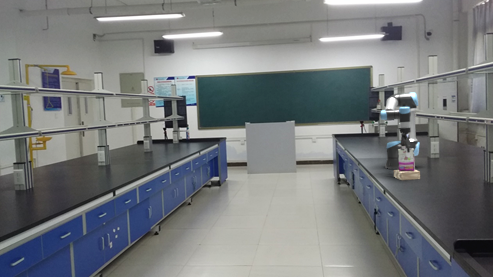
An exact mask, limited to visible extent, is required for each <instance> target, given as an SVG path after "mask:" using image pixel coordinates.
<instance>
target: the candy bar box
mask: <svg viewBox="0 0 494 278" xmlns="http://www.w3.org/2000/svg"><path fill="white" fill-rule="evenodd" d="M398 160H399V169H398V170H399V171H415V170H416V167H415V166H416V165H415V163H416V162H415V156H414V149H410V157H406V149H398Z"/></svg>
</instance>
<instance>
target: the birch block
mask: <svg viewBox="0 0 494 278" xmlns="http://www.w3.org/2000/svg"><path fill="white" fill-rule="evenodd" d="M394 177H395V179H398V180H400V181H410V180H412V181H413V180H421V171H419V170H417V169H415V171H399V169H393V178H394Z"/></svg>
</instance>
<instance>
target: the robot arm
mask: <svg viewBox="0 0 494 278" xmlns="http://www.w3.org/2000/svg"><path fill="white" fill-rule="evenodd" d="M418 106H419V99H418V95H417V92H410V91H409V92H402V93H393V94H392V95H390V96H389V97H388V98H387V99H386V101H385V108H384V109H382V110H381V111H380V120H382V121H388V120H389V121H390V120H391V121H392V120H399V123H398V125H399V133H401V134H400V135H401V136H400V138H401V139H400V140H395V141H389V142H387V143H386V163H385V165H384V166H385V169H387V168H388V169H387V170H399V160H398V149H406V157H410V149H414V157H417V156H418V155H419V152H420V143H421V142H419V140H418V139H417V138H416V137H417V134H416V133H417V132H416V131H417V130H416V112H415V111H416V109H418V108H417V107H418ZM396 108H399V109H396Z"/></svg>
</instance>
